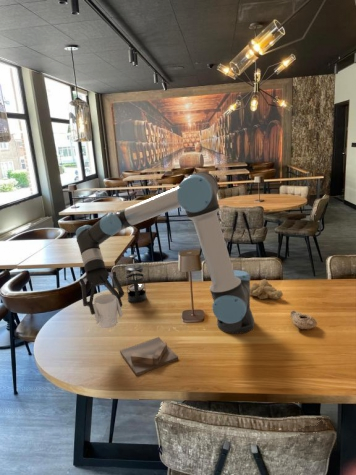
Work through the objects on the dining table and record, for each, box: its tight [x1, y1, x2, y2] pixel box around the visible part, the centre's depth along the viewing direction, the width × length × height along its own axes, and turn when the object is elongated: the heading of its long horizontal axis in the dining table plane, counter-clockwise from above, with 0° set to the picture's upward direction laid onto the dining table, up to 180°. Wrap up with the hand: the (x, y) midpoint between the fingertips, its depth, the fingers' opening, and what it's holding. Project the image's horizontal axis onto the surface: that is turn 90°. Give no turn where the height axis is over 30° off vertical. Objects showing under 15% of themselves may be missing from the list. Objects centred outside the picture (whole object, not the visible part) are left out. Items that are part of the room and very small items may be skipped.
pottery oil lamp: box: [289, 310, 318, 330], centre depth 137 cm, size 9×12×7 cm
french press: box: [124, 254, 148, 304], centre depth 168 cm, size 12×9×23 cm
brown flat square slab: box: [119, 336, 179, 377], centre depth 123 cm, size 16×16×3 cm
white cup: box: [93, 293, 119, 329], centre depth 124 cm, size 8×8×10 cm
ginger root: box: [250, 278, 283, 300], centre depth 165 cm, size 16×16×8 cm
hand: (109, 318), depth 121 cm, fingers closed on white cup, 8 cm apart
